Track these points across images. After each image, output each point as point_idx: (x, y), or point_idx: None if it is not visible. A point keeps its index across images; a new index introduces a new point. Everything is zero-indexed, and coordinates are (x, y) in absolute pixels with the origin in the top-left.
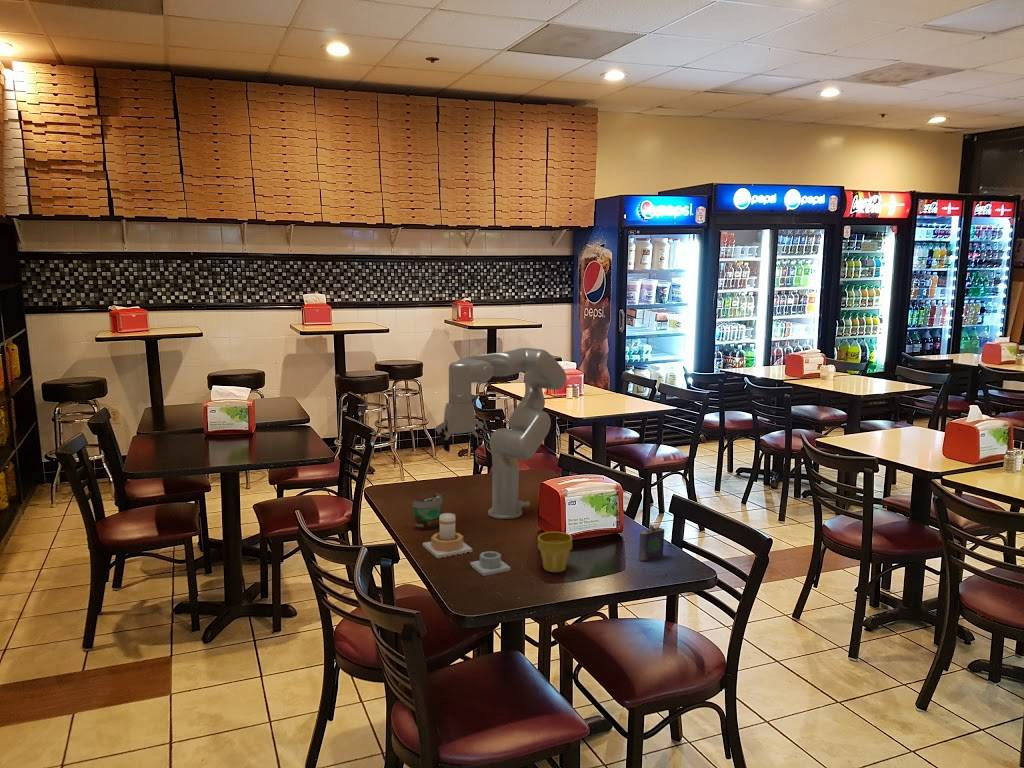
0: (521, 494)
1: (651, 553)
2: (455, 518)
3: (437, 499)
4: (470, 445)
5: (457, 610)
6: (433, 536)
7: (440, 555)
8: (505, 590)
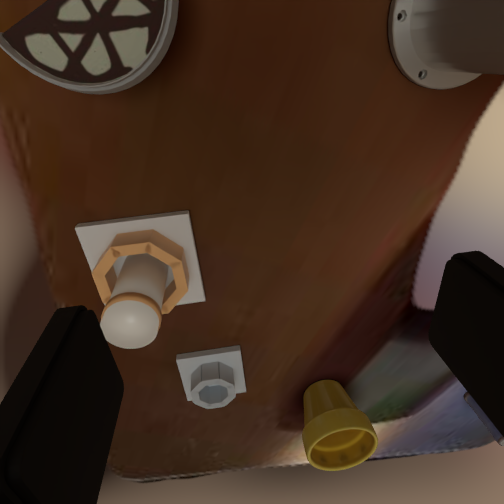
0: None
1: None
2: (159, 325)
3: (143, 20)
4: (458, 278)
5: (114, 469)
6: (99, 269)
7: None
8: (205, 437)
